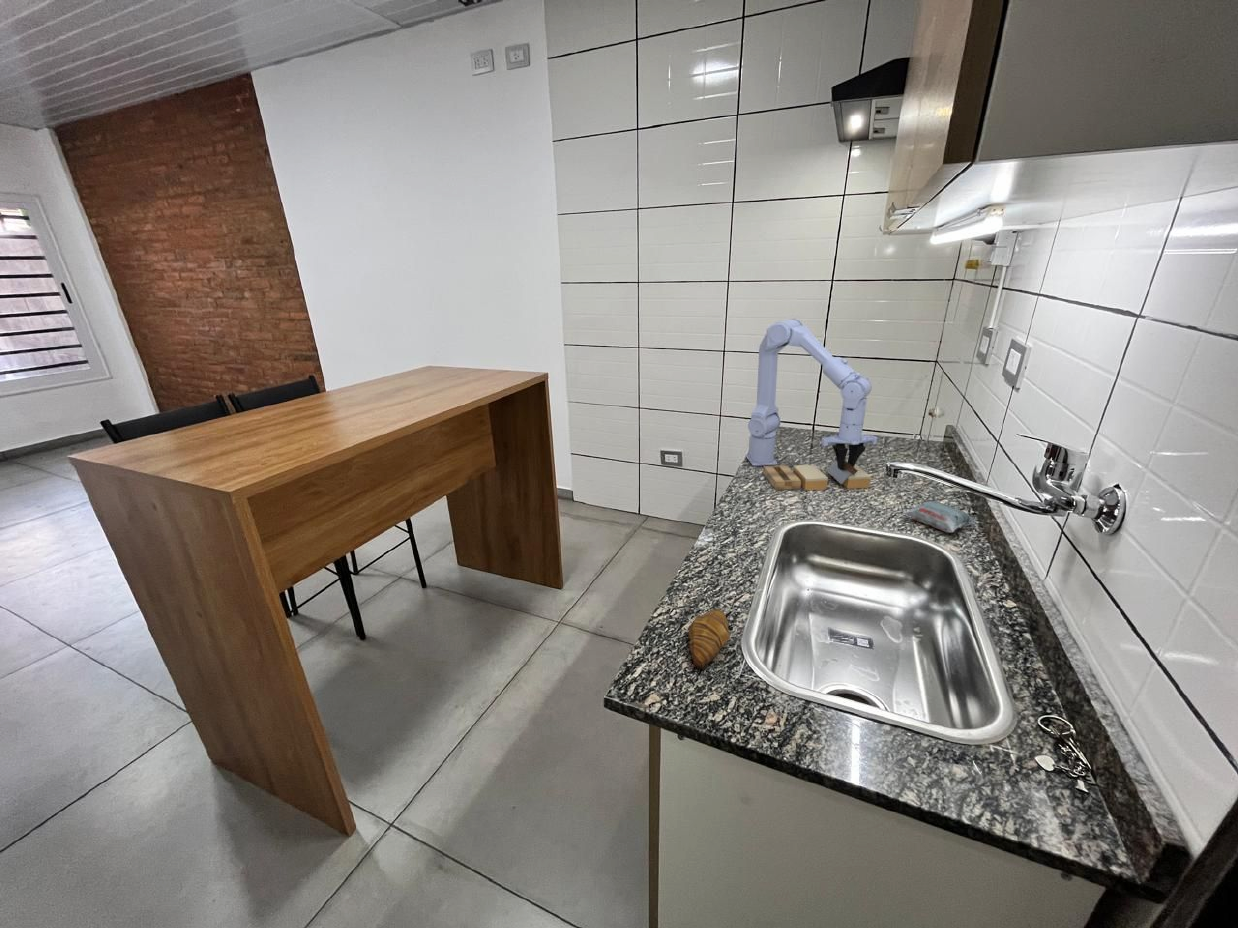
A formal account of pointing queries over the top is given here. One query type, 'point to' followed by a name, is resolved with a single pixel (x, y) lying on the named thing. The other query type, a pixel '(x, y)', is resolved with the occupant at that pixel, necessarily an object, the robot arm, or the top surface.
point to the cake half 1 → (810, 477)
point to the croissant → (708, 637)
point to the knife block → (786, 473)
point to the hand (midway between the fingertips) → (845, 468)
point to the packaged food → (940, 516)
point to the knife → (841, 471)
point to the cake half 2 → (858, 479)
